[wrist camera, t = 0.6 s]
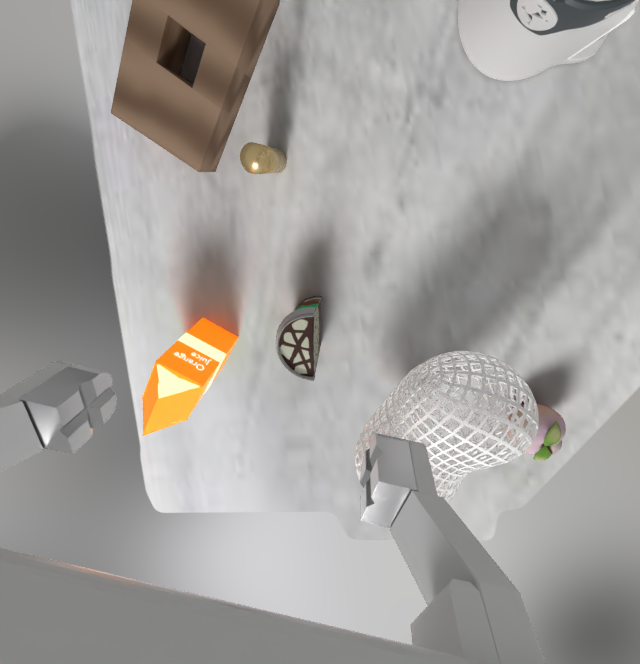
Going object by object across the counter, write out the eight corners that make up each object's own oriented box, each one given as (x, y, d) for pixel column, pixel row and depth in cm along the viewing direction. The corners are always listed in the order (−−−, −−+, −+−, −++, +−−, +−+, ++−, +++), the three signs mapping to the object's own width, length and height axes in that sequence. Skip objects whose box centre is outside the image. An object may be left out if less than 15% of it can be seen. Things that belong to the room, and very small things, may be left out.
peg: (271, 143, 41) (247, 136, 32) (290, 157, 41) (271, 153, 32) (261, 164, 42) (235, 163, 33) (280, 177, 42) (259, 179, 34)
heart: (432, 292, 48) (481, 375, 28) (507, 337, 50) (599, 443, 31) (342, 401, 61) (333, 509, 42) (404, 433, 63) (424, 550, 44)
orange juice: (187, 349, 59) (116, 424, 42) (202, 316, 55) (129, 384, 38) (223, 368, 61) (167, 448, 43) (239, 337, 56) (185, 412, 39)
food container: (285, 286, 50) (269, 310, 42) (321, 287, 50) (313, 312, 41) (288, 347, 56) (275, 380, 47) (320, 350, 56) (313, 383, 47)
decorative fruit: (499, 391, 55) (525, 433, 47) (548, 389, 54) (585, 431, 45) (494, 428, 60) (517, 472, 51) (540, 427, 58) (572, 472, 49)
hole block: (183, -76, 32) (154, -115, 27) (279, 3, 34) (267, -22, 29) (137, 119, 41) (110, 112, 37) (215, 171, 43) (198, 171, 39)
